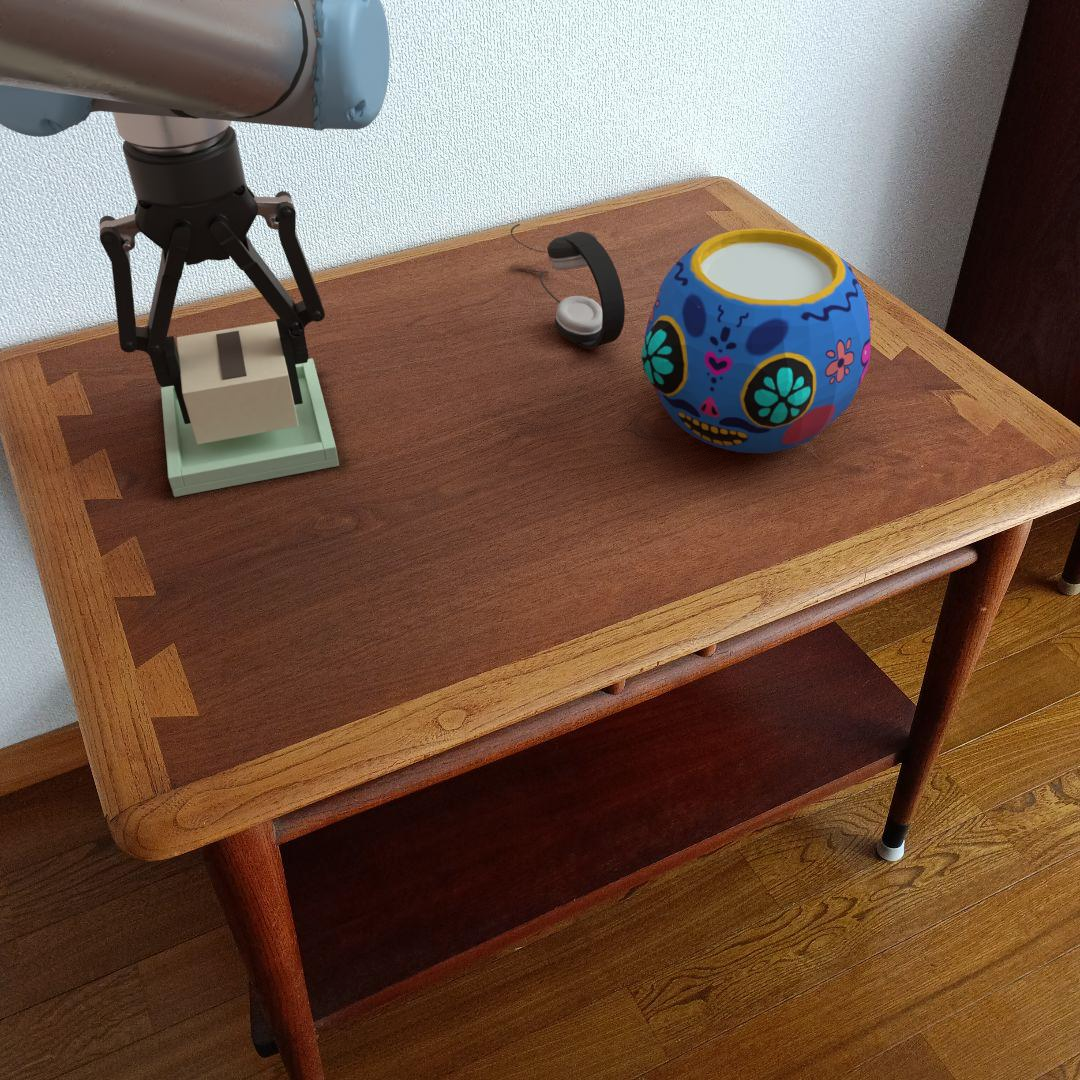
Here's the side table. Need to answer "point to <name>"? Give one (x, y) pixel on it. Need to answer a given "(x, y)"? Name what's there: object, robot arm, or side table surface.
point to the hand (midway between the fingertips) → (242, 403)
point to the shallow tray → (249, 445)
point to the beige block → (235, 382)
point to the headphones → (580, 313)
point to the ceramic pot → (757, 340)
